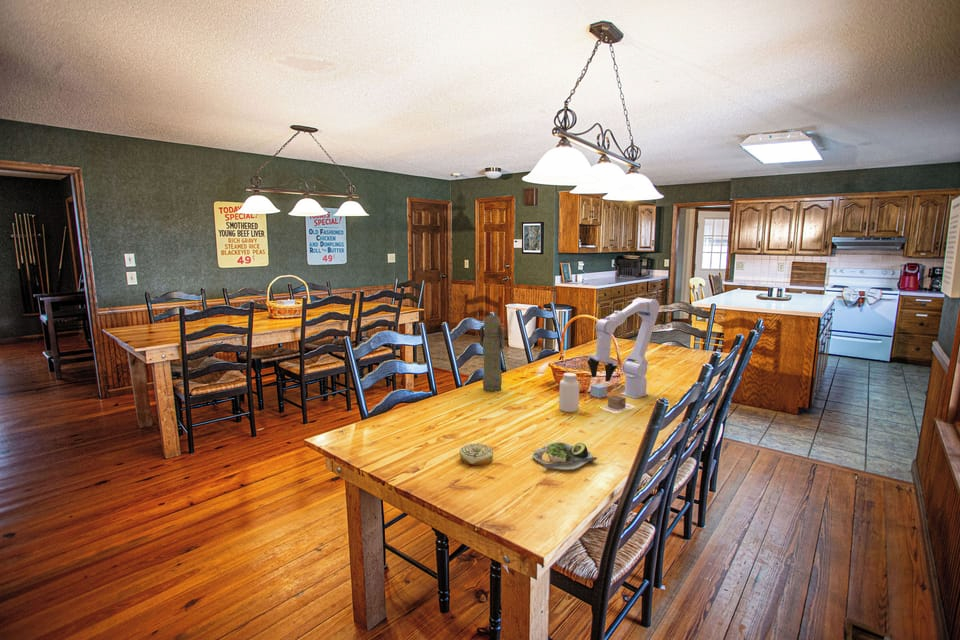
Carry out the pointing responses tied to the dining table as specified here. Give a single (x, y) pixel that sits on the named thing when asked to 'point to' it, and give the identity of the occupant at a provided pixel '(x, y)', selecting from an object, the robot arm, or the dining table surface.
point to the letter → (627, 407)
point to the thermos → (492, 352)
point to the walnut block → (616, 402)
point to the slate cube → (598, 390)
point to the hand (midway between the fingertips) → (600, 378)
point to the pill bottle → (569, 393)
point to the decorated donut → (476, 454)
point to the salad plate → (564, 456)
